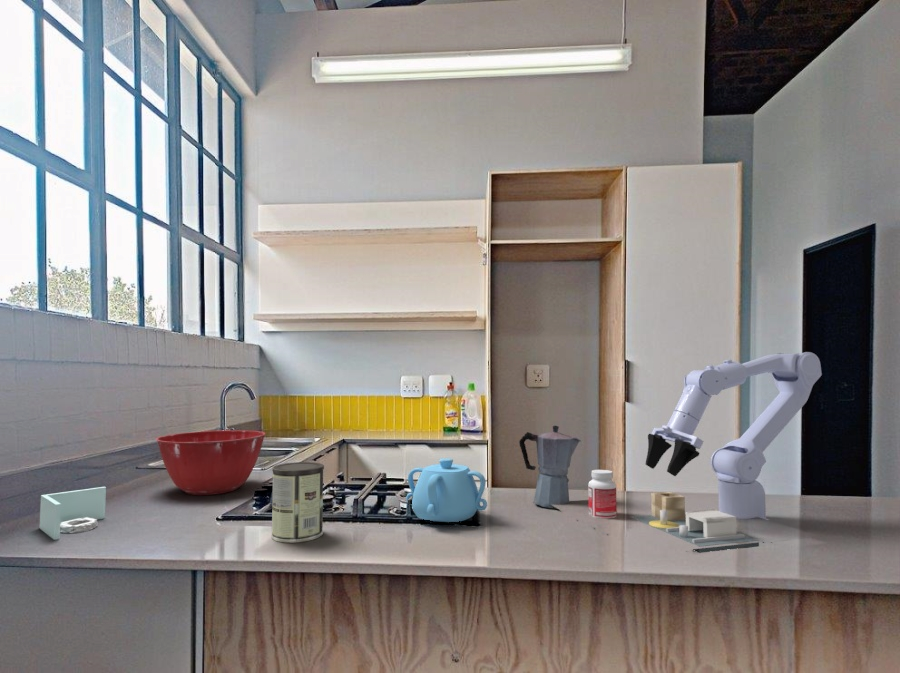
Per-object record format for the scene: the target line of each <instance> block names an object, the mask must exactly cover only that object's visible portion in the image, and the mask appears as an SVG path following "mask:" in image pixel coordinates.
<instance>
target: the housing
mask: <svg viewBox="0 0 900 673" xmlns="http://www.w3.org/2000/svg"><path fill="white" fill-rule="evenodd" d="M685 514H686V526H688V531H694V530H703V531H704V537H706V538H707V537H717V536H727V535H736V532H737V518H736V517H735V516H732V515H729V514H726V513H723V512H720V511H719V510H717V509H704V510H703V509H702V510H693V511H691V510H690V511H685Z"/></svg>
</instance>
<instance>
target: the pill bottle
mask: <svg viewBox="0 0 900 673" xmlns="http://www.w3.org/2000/svg"><path fill="white" fill-rule="evenodd" d="M613 473H614V472H613V471H612V470H608V469H593V470H591V478H592V479H591V480H590V481H589V482H588V485H587V487H588V490H587V492H588V493H587V494H588V516H590V517H592V518H596V519H601V520H603V519H608V520H610V519H615V518H617V517H618V516H617V515H618V514H617V513H618V512H617V511H618V509H617V508H618V507H617V485H616V482H615V481H614V480H612V479H613V476H614V474H613Z"/></svg>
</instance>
